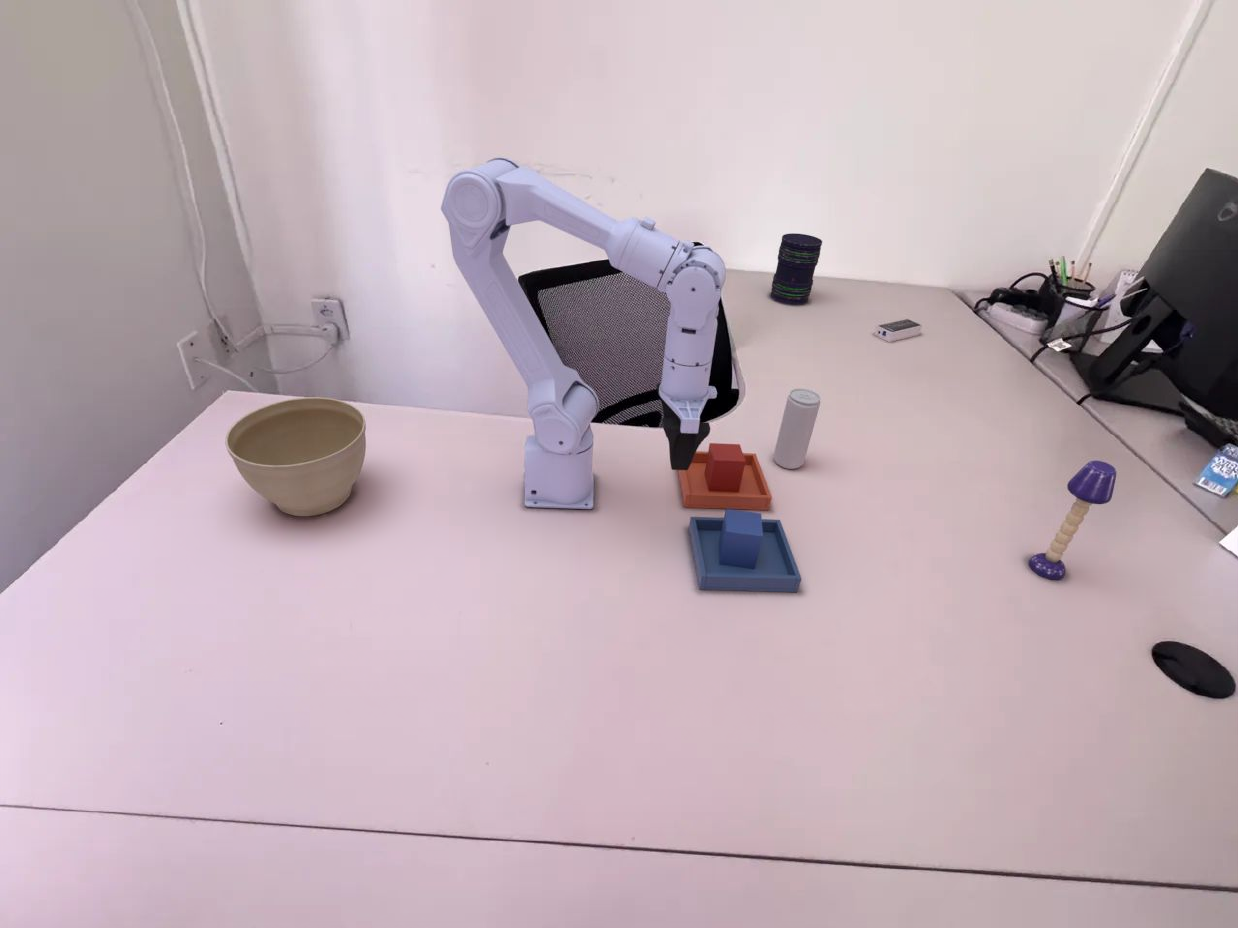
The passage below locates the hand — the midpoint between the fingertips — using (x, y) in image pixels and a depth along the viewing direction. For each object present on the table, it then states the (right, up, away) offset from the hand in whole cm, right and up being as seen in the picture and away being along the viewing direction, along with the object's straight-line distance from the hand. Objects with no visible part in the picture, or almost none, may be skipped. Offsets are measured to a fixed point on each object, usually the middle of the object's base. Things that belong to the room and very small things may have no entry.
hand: (676, 451), depth 85 cm
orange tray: (+8, -5, +12) cm, 15 cm away
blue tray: (+8, -14, -1) cm, 16 cm away
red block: (+8, -4, +12) cm, 15 cm away
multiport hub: (+57, +28, +66) cm, 92 cm away
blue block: (+8, -13, -1) cm, 15 cm away
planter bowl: (-49, -6, +4) cm, 49 cm away
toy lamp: (+49, -16, +2) cm, 52 cm away
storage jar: (+36, +41, +82) cm, 98 cm away
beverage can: (+19, -1, +19) cm, 27 cm away
